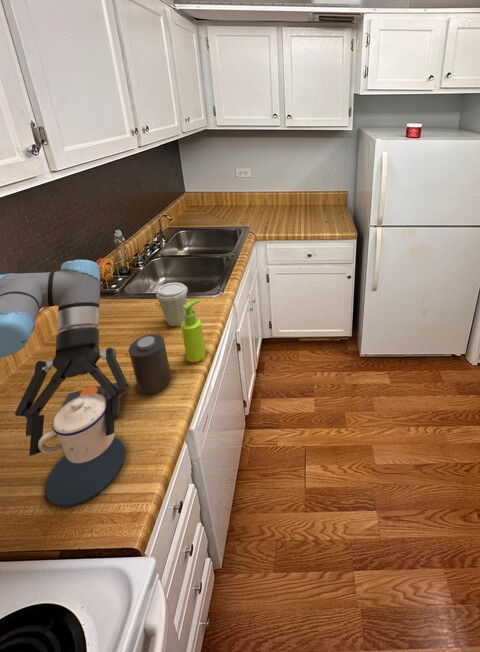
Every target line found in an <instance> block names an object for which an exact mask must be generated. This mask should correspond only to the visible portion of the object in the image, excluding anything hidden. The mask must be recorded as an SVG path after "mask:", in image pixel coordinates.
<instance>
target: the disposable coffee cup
mask: <svg viewBox="0 0 480 652" xmlns="http://www.w3.org/2000/svg"><path fill="white" fill-rule="evenodd" d="M187 293H188V286H186V285H185V284H184V283H182V282H168V283H165V284H161V285H160V286H158V288H157V289H156V295H155V296H156V297H155V298H156V299H157V300H158V303H159V306H160V309H161V311H162V314H163V316H164V319H165V322H166V323H167V325H169V326H170V327H178V326H181V323H182V322H183V321H184V313H185V312H186V309H184V308H183V307H182V306H183V305H185V304H186V303H187V296H188V295H187Z"/></svg>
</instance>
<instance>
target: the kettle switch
mask: <svg viewBox="0 0 480 652" xmlns="http://www.w3.org/2000/svg"><path fill="white" fill-rule="evenodd" d="M96 387H97V386H89V387H86V388H85V389H83V391H82V390H81V391H82V392H81V393H80V396H82V395H86V394H92V393H95V394H99V393H98V389H97V388H96Z"/></svg>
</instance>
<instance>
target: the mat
mask: <svg viewBox="0 0 480 652" xmlns="http://www.w3.org/2000/svg"><path fill="white" fill-rule="evenodd" d="M125 459H126V448H125V445H124V444H123V442H122V440H120V439H119V438H117V437H114V439H113V441H112V443H111V444H110V446H109V447H108V448H107V449H106V450H105V451H104V452H103V453H102V454H100V455H99V456H97V457H96V458H94V459H92V460H90V461H87V462H83V463H73V462H70V461H69V460H68V459H67V458H66V455H65V454H64V456H63V457H62V458H61V459H60V460H59V461H58V462H57V463H56V465H54V467H53V468H52V470H51V472H50V473H49V476H48V478H47V481H46V483H45V495H46V498H47V499H48V501H49V502H50V503H51V504H52V505H54V506H56V507H61V508H69V507H75V506H79V505H81V504H84V503H87V502H88V501H90V500H91V499H94V498H96V497H97V496H98V495H100V493H102V492H103V491H105V490H106V489H107V488H108V487H110V485H111V484H112V483H113V481H114V480H115V479H116V478H117V476H118V475H119V473H120V472H121V470H122V468H123V466H124V463H125Z"/></svg>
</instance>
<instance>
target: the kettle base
mask: <svg viewBox="0 0 480 652" xmlns="http://www.w3.org/2000/svg"><path fill="white" fill-rule="evenodd" d="M112 384H113V385H114V386H115V387H116V388H117V389H119V387H118V384H117V382H112ZM95 387H96V388H97V389H98V393H99V394H100V395H102V396H104V397H105V398H106V399H111V398H110V397H111V396H110V395H109V394H108V393H107V392H106V391H105V390H104V389H103V388H102V386H101V385H99V386H95ZM83 390H84V389H83ZM83 390H78V391H73V392H69V393H67V395H66V398H65V401H64V403H63V405H62V407H63V406H64V405H66V404H67V403H68V402H70V401H71V400H73V399H75V398H77V397H79V396H80V393H81V392H82V391H83ZM124 397H125V393H123V394H122V395H121V396H120V411H119V414H116V415H114V420H115V419H119V417H120V413H121V408H122V405H123V400H124Z"/></svg>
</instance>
